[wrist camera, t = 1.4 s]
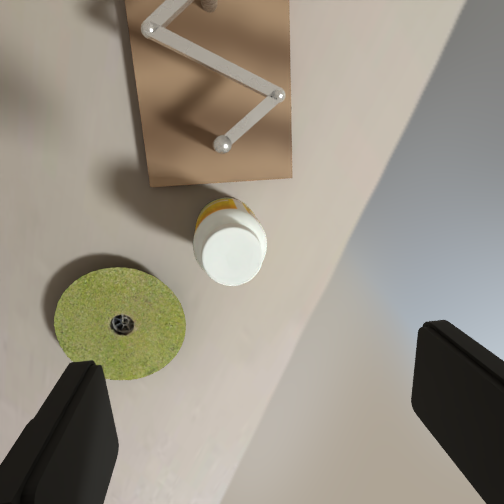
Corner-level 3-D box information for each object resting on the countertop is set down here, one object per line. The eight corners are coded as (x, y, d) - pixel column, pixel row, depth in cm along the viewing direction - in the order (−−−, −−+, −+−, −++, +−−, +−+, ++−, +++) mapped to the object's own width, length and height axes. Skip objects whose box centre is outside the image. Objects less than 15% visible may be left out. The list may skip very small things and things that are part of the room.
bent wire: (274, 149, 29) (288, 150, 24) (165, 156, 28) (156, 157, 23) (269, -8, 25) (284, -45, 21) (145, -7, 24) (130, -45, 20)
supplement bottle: (264, 209, 31) (288, 234, 22) (242, 262, 32) (256, 306, 23) (207, 187, 30) (208, 203, 21) (187, 243, 31) (179, 281, 22)
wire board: (289, 177, 30) (292, 178, 30) (152, 186, 29) (150, 187, 28) (283, -124, 24) (286, -135, 23) (109, -129, 23) (105, -141, 22)
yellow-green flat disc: (196, 356, 34) (196, 368, 33) (82, 378, 34) (75, 392, 32) (173, 250, 31) (171, 257, 29) (46, 272, 30) (35, 280, 28)
